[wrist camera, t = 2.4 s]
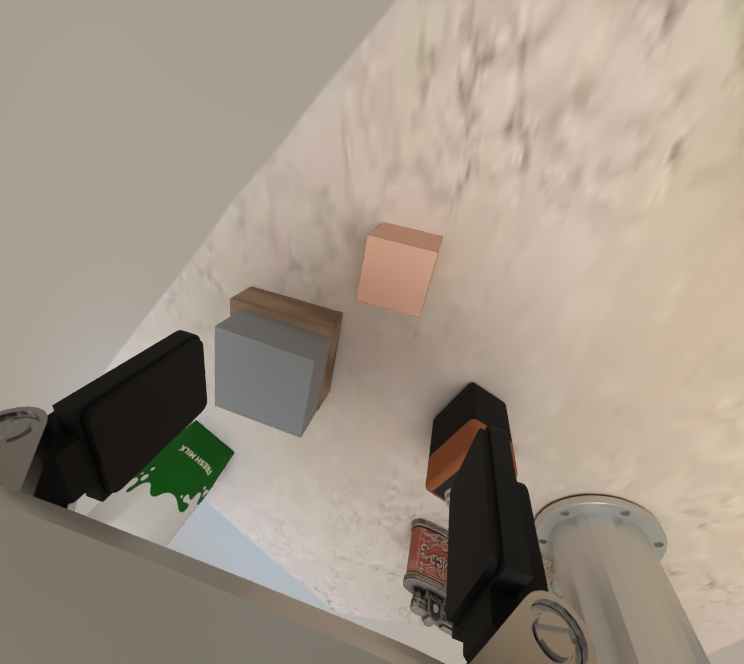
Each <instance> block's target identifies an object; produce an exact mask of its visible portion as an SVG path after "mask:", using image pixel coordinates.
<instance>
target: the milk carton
mask: <svg viewBox="0 0 744 664" xmlns="http://www.w3.org/2000/svg"><path fill="white" fill-rule="evenodd" d="M233 454H234V452H233V451H232V450H231V449H230V448H228V447H227V446H226V445H225V444H224V443H222V442H221V441H220V440H219V439H218V438H216V437H215V436H214V435H213V434H212V433H210V432H209V431H208V430H207V429H206V428H204V427H203V426H202V425H201V424H200V423H198V422H197V421H195V422H194V423H192V424H191V425H190V426H188V427H187V428H186V429H184V430H183V431H182V432H181V433H179V434H178V435H177V436H176V437H175V438H174V439H173V440H172V441H171V442H170V443H169V444H168V445H167V446H166V447H165V448H164V449H163V450H162V451H161V452H160V453H159V454H158V455H157V456H156V457H155V458H154V459H153V460H152V461H150V462H149V463H148V464H147V465H146V466H145V467H144V468H143V469H142V470H141V471H140V472H139V473H138V474H137V475H136V476H135V477H134V478H133V479H132V480H131V481H130V482H129V483H128V484H127V485H126V486H125V487H124V488H122V489H121V490H120V491H118V492H116V493H112V494H111V495H110V496H109V497H108V498H107V499H106V500H105V501H104V502H101V501H100V502H99V503H98V504H97V506H96V507H94V508H93V509H92V510H91V512H89V514H88V515H87V517H89V518H92V519H95V520H97V521H100V522H102V523H105V524H107V525H110V526H113V527H115V528H118V529H120V530H123V531H125V532H128V533H130V534H133V535H136V536H138V537H141V538H143V539H146V540H148V541H151V542H153V543H156V544H159V545H161V546H164V547H166V546H167V545H168V544H169V542H170V541H171V540H172V539H173V537H174V536H175V535H176V533H177V532H178V531H179V529H180V528H181V527H182V526H183V524H184V523H185V522H186V520H187V519H188V518H189V516H190V515H191V514H192V513H193V512H194V510H195V509H196V508H197V506H198V505H199V504H200V503H201V501H202V500H203V499H204V497H205V496H206V495H207V493H208V492H209V490H210V489H211V488H212V486H213V485H214V483H215V481H216V480H217V478H218V477H219V475H220V474H221V472H222V471H223V469H224V468H225V466H226V464H227V463H228V461H229V460H230V458H231V457H232V455H233Z"/></svg>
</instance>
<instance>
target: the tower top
mask: <svg viewBox="0 0 744 664" xmlns="http://www.w3.org/2000/svg"><path fill="white" fill-rule="evenodd" d="M330 344H331V338H328V337H325V336H322V335H319V334H316V333H313V332H310V331H307V330H304V329H301V328H298V327H295V326H293V325H290V324H287V323H284V322H281V321H278V320H275V319H272V318H269V317H266V316H263V315H260V314H257V313H254V312H251V311H248V310H245V309H241V310H239V311H238V312H236V313H235V314H233V315H232V316H230V317H229V318H227V319H226V320H224V321H223V322H221V323H220V324H218V325H216V326H215V406H218V407H220V408H223V409H226V410H228V411H231V412H234V413H236V414H239V415H242V416H244V417H247V418H250V419H252V420H255V421H258V422H260V423H263V424H266V425H268V426H271V427H274V428H276V429H279V430H282V431H284V432H287V433H290V434H292V435H295V436H298V437H300V438H301V436H302V435H303V433H304V431H305V430H306V428H307V426H308V425H309V423H310V421H311V420H312V418H313V416H314V415H315V413H316V411H317V408H318V403H319V398H320V393H321V388H322V383H323V378H324V373H325V368H326V363H327V358H328V354H329V349H330Z"/></svg>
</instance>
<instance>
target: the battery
mask: <svg viewBox="0 0 744 664" xmlns="http://www.w3.org/2000/svg"><path fill="white" fill-rule="evenodd" d="M487 426H492V427H495V428H498V429H501V430H505V431H507V432H508V434H509V440H510V445H511V451H512V457H513V463H514V469H515V474H516V477H517V468H516V462H515V456H514V450H513V444H512V439H511V433H510V427H509V421H508V415H507V410H506V405H505V403H504V402H502V401H501V400H499V399H498V398H496V397H495V396H493V395H491V394H490V393H488V392H487V391H485V390H484V389H482V388H481V387H479V386H478V385H476V384H475V383H471V384H469V385H468V386H467V387H466V388H465V389H464V390H463V391H462V392H461V393H460V394H459V395H458V396H457V397H456V398H455V399H454V400H453V401H452V402H451V403H450V404H449V405H448V406H447V407H446V408H445V409H444V410H443V411H442V412H441V413H440V414H439V415H438V416H437V417H436V418H435V419H434V421H433V429H432V437H431V445H430V454H429V462H428V470H427V478H426V489H427V490H428V491H429V492H431V493H432V494H434V495H435V496H437V497H439V498H440V499H442V500H443V501H445V502H446V504H447V506H449V503H450V490H451V486H452V483H453V481H454V479H455V477H456V475H457V473H458V471H459V469H460V467H461V464H462V462H463V460H464V458H465V456H466V454H467V452H468V450H469V448H470V446H471V444H472V442H473V440H474V438H475V436H476V434H477V432H478V430H479V429H480V428H482V429H485V428H486V427H487Z"/></svg>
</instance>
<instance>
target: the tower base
mask: <svg viewBox="0 0 744 664" xmlns="http://www.w3.org/2000/svg"><path fill="white" fill-rule="evenodd" d="M241 309H245V310H248V311H251V312H254V313H257V314H260V315H263V316H266V317H269V318H272V319H275V320H278V321H281V322H284V323H287V324H290V325H293V326H295V327H298V328H301V329H304V330H307V331H310V332H313V333H316V334H319V335H322V336H325V337H328V338H331V344H330V349H329V354H328V358H327V363H326V368H325V373H324V378H323V383H322V388H321V393H320V398H319V403H318V408H317V410H319V408H320V406H321V404H322V403H323V401H324V399H325V398H326V396H327V394H328V393H329V391H330V387H331V381H332V374H333V368H334V362H335V356H336V350H337V344H338V338H339V332H340V326H341V320H342V314H343V313H341V312H338V311H335V310H331V309H328V308H324V307H321V306H317V305H314V304H310V303H307V302H303V301H300V300H296V299H293V298H290V297H286V296H283V295H279V294H276V293H272V292H269V291H265V290H262V289H258V288H255V287H252V286H251V287H250V288H248V289H246V290H244V291H243V292H241V293H239V294H238V295H236V296H234V297H232V298H231V299H230V316H232V315H233V314H235V313H236V312H238V311H239V310H241Z"/></svg>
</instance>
